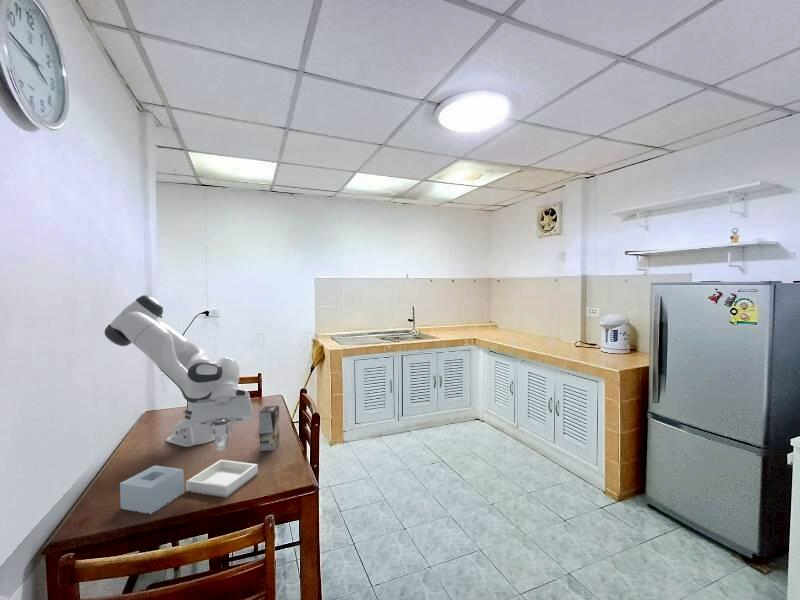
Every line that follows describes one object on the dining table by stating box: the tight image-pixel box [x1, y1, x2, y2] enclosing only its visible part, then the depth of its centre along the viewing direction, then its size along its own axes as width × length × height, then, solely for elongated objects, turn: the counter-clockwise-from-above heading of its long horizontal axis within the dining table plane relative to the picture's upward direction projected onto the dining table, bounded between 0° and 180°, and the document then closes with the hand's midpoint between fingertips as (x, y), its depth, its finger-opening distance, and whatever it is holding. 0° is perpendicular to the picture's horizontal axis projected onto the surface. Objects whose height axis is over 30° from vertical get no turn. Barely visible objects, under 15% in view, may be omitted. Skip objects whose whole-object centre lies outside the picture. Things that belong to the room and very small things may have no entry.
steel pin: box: [214, 418, 229, 452], centre depth 129 cm, size 4×4×10 cm
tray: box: [185, 459, 259, 498], centre depth 130 cm, size 16×16×4 cm
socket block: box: [119, 465, 185, 515], centre depth 119 cm, size 12×12×8 cm
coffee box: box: [258, 405, 281, 452], centre depth 159 cm, size 9×6×16 cm
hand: (220, 433), depth 129 cm, fingers closed on steel pin, 4 cm apart
